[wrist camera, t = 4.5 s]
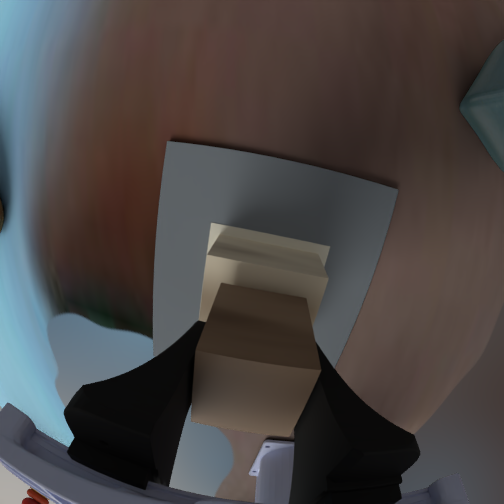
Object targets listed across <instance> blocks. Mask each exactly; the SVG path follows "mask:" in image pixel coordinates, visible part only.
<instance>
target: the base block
mask: <svg viewBox="0 0 504 504" xmlns="http://www.w3.org/2000/svg"><path fill="white" fill-rule="evenodd" d="M328 279H329V278H328V276H327V273H326V271H325V268H324V266H323V264H322V261H321V259H320V257H319V255H318V254H316V253H311V252H306V251H301V250H297V249H292V248H287V247H282V246H277V245H272V244H267V243H262V242H257V241H252V240H247V239H242V238H236V237H231V236H226V235H221V234H219V236H218V238H217V239H216V241H215V242H214V244H213V246H212V247H211V249H210V250H209V252H208V254H207V258H206V265H205V273H204V281H203V289H202V297H201V306H200V315H199V321H203V322H206V321H207V318H208V315H209V313H210V310H211V308H212V305H213V302H214V300H215V297H216V295H217V292H218V289H219V287H220V284H221V283H226V284H231V285H237V286H242V287H247V288H253V289H258V290H263V291H269V292H275V293H280V294H286V295H292V296H298V297H304V298H306V299H307V304H308V308H309V313H310V317H311V322H312V327H313V324H314V321H315V318H316V316H317V313H318V310H319V307H320V304H321V301H322V298H323V295H324V292H325V289H326V286H327V282H328Z"/></svg>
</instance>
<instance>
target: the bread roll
mask: <svg viewBox="0 0 504 504" xmlns="http://www.w3.org/2000/svg"><path fill="white" fill-rule="evenodd" d="M3 218H4V213H3V207H2V202H1V199H0V232H1V230H2V226H3Z"/></svg>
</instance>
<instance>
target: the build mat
mask: <svg viewBox="0 0 504 504" xmlns="http://www.w3.org/2000/svg"><path fill="white" fill-rule="evenodd" d="M397 194H398V190H397V189H394V188H391V187H388V186H385V185H381V184H378V183H375V182H372V181H368V180H365V179H361V178H358V177H354V176H351V175H347V174H343V173H339V172H336V171H332V170H328V169H324V168H320V167H316V166H311V165H307V164H303V163H298V162H294V161H289V160H285V159H280V158H275V157H270V156H265V155H260V154H254V153H249V152H243V151H237V150H231V149H225V148H218V147H211V146H204V145H197V144H189V143H180V142H171V141H167V147H166V153H165V160H164V167H163V175H162V183H161V191H160V200H159V210H158V221H157V233H156V247H155V264H154V289H153V351H154V352H153V353H154V356H155V357H156V356H157V355H159V354H160V353H162V352H163V351H164V350H166V349H167V348H168V347H170V346H171V345H172V344H173V343H174V342H176V341H177V340H178V339H179V338H180V337H181V336H182V335H183V334H185V333H186V332H187V331H188V330H189V329H190V328H191V327H192V325H193V324H194V323H195V322H196V321H198V320H199V315H200V306H201V297H202V289H203V281H204V273H205V265H206V258H207V254H208V252H209V250H210V249H211V247H212V246H213V244H214V242H215V241H216V239H217V238H218V236H219V234H221V235H226V236H231V237H236V238H242V239H247V240H252V241H257V242H262V243H267V244H272V245H277V246H282V247H287V248H292V249H297V250H301V251H306V252H311V253H316V254H318V255H319V257H320V259H321V261H322V264H323V266H324V268H325V271H326V273H327V276H328V278H329V279H328V282H327V286H326V289H325V292H324V295H323V298H322V301H321V304H320V307H319V310H318V313H317V316H316V318H315V321H314V324H313V331H314V336H315V341H316V342H317V344H318V345H319V347H320V348H321V350H322V351H323V353H324V354H325V356H326V357H327V359H328V360H329V362H330V363H331V364H332V366H333V367H334V368H335V366H336V364H337V361H338V359H339V357H340V355H341V353H342V351H343V349H344V346H345V344H346V342H347V340H348V337H349V335H350V333H351V330H352V328H353V326H354V323H355V321H356V318H357V316H358V314H359V311H360V309H361V306H362V304H363V301H364V298H365V296H366V293H367V290H368V288H369V285H370V282H371V280H372V277H373V274H374V271H375V268H376V265H377V262H378V259H379V256H380V253H381V250H382V247H383V244H384V241H385V237H386V234H387V231H388V227H389V224H390V221H391V217H392V213H393V210H394V206H395V202H396V198H397Z"/></svg>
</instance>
